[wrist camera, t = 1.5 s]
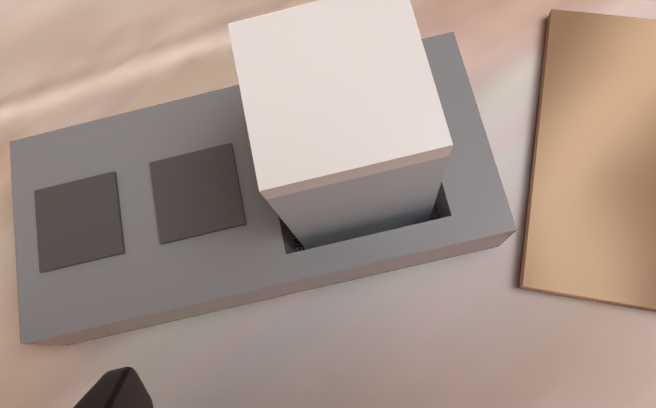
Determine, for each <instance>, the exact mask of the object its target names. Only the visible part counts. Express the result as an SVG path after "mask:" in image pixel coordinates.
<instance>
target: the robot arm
mask: <svg viewBox="0 0 656 408" xmlns="http://www.w3.org/2000/svg"><path fill="white" fill-rule="evenodd" d="M73 408H153V403H152V400H151V397H150V395H149V394H148V392H147V390H146V388H145V387H144V385H143V383H142V381H141V380H140V378H139V376H138V374H137V373H136V371H135V370H134V369H133V368H131V367H124V368H120V369H116V370H111V371H109V372H107V373H105V374H104V375H103V376H102V377H101V378H100V379H99V381H98V382H97V383H96V384H95V385H94V386H93V387H92V388H91V389H90V390H89V391H88V392H87V393H86V395H85V396H84V397H83V398H82V399H81V400H80V401H79V402H78V403H77V404H76V405H75V406H74V407H73Z"/></svg>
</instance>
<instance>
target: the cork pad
mask: <svg viewBox="0 0 656 408" xmlns="http://www.w3.org/2000/svg"><path fill="white" fill-rule="evenodd" d="M519 288H523V289H528V290H534V291H540V292H546V293H552V294H557V295H563V296H569V297H575V298H580V299H586V300H592V301H598V302H604V303H609V304H615V305H621V306H627V307H633V308H638V309H644V310H650V311H656V20H655V19H645V18H635V17H625V16H614V15H604V14H594V13H584V12H574V11H564V10H554V9H552V10H551V12H550V14H549V16H548V19H547V29H546V38H545V48H544V57H543V67H542V76H541V85H540V95H539V104H538V114H537V123H536V133H535V142H534V151H533V161H532V170H531V180H530V189H529V199H528V208H527V218H526V227H525V236H524V246H523V255H522V265H521V274H520V284H519Z"/></svg>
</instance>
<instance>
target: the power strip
mask: <svg viewBox="0 0 656 408" xmlns="http://www.w3.org/2000/svg"><path fill="white" fill-rule="evenodd" d="M422 43H423V46H424V49H425V53H426V56H427V59H428V63H429V66H430V69H431V73H432V76H433V79H434V83H435V86H436V89H437V93H438V96H439V99H440V103H441V106H442V109H443V113H444V116H445V119H446V123H447V126H448V129H449V133H450V136H451V139H452V143H453V147H452V150H451V153H450V156H449V159H448V163H447V166H446V169H445V172H444V175H443V178H442V181H441V185H440V188H439V191H438V194H437V197H436V200H435V206H436V209H437V213H438V216H439V219H435V220H431V221H427V222H422V223H418V224H414V225H410V226H405V227H401V228H397V229H392V230H388V231H384V232H380V233H375V234H371V235H367V236H362V237H358V238H354V239H350V240H345V241H341V242H337V243H332V244H328V245H324V246H319V247H315V248H311V249H307V250H302V251H298V252H296V250H295V245H294V240H293V235H292V232H291V230H290V229H289V228H288V227H287V225H286V224H285V223H284V222H283V220H282V219H281V218H280V217H279V215H278V214H277V213H276V212H275V210H274V209H273V208H272V207H271V205H270V204H269V203H268V202H267V200H266V199H265V198H264V197H263V195H262V194H261V193H260V192H259V188H258V183H257V177H256V172H255V167H254V161H253V156H252V151H251V145H250V140H249V135H248V129H247V124H246V119H245V114H244V108H243V103H242V98H241V92H240V87H239V85H236V86H232V87H228V88H224V89H220V90H216V91H212V92H208V93H204V94H200V95H196V96H192V97H188V98H184V99H180V100H176V101H172V102H168V103H164V104H159V105H155V106H151V107H147V108H143V109H139V110H135V111H131V112H127V113H123V114H119V115H115V116H111V117H107V118H103V119H99V120H95V121H91V122H87V123H83V124H79V125H75V126H71V127H67V128H63V129H59V130H55V131H51V132H47V133H43V134H39V135H35V136H30V137H26V138H22V139H18V140H14V141H10V159H11V177H12V195H13V213H14V231H15V249H16V267H17V285H18V303H19V321H20V339H21V344H36V345H70V344H74V343H79V342H83V341H88V340H92V339H96V338H101V337H105V336H109V335H114V334H118V333H122V332H127V331H131V330H135V329H140V328H144V327H148V326H153V325H157V324H161V323H166V322H170V321H175V320H179V319H183V318H188V317H192V316H196V315H201V314H205V313H209V312H214V311H218V310H222V309H227V308H231V307H235V306H240V305H244V304H249V303H253V302H257V301H262V300H266V299H270V298H275V297H279V296H283V295H288V294H292V293H296V292H301V291H305V290H309V289H314V288H318V287H323V286H327V285H331V284H336V283H340V282H344V281H349V280H353V279H357V278H362V277H366V276H370V275H375V274H379V273H383V272H388V271H392V270H397V269H401V268H405V267H410V266H414V265H418V264H423V263H427V262H431V261H436V260H440V259H444V258H449V257H453V256H457V255H462V254H466V253H471V252H475V251H479V250H484V249H488V248H492V247H497V246H500V245H501V244H502V243H503V242H504V241H505V240H506V239H507V238H508V237H509V236H511V235H512V234H513V233H514V232H515V231H516V230H517V229H516V226H515V223H514V220H513V217H512V214H511V211H510V207H509V204H508V201H507V198H506V195H505V192H504V189H503V186H502V182H501V179H500V176H499V173H498V170H497V167H496V164H495V161H494V157H493V154H492V151H491V148H490V145H489V142H488V139H487V135H486V132H485V129H484V126H483V123H482V120H481V117H480V114H479V110H478V107H477V104H476V101H475V98H474V95H473V92H472V89H471V85H470V82H469V79H468V76H467V73H466V70H465V67H464V64H463V60H462V57H461V54H460V51H459V48H458V45H457V42H456V38H455V35H454V32H450V33H446V34H442V35H438V36H434V37H430V38H426V39H422Z"/></svg>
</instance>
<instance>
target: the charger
mask: <svg viewBox="0 0 656 408" xmlns="http://www.w3.org/2000/svg"><path fill="white" fill-rule="evenodd" d="M228 28H229V34H230V39H231V44H232V50H233V55H234V60H235V66H236V71H237V76H238V82H239V87H240V92H241V98H242V103H243V108H244V114H245V119H246V124H247V129H248V135H249V140H250V145H251V151H252V156H253V161H254V167H255V172H256V177H257V183H258V188H259V192H260V193H261V194H262V195H263V197H264V198H265V199H266V200H267V202H268V203H269V204H270V205H271V207H272V208H273V209H274V210H275V212H276V213H277V214H278V215H279V217H280V218H281V219H282V220H283V222H284V223H285V224H286V225H287V227H288V228H289V229H290V230H291V232H292V233H293V234H294V235H295V237H296V238H297V239H298V240H299V241H300V243H301V244H302V245H303V246H304V248H305V249H306V250H307V249H311V248H315V247H319V246H324V245H328V244H332V243H337V242H341V241H345V240H350V239H354V238H358V237H362V236H367V235H371V234H375V233H380V232H384V231H388V230H392V229H397V228H401V227H405V226H410V225H414V224H418V223H422V222H427V221H429V219H430V216H431V213H432V210H433V206H434V203H435V200H436V197H437V194H438V191H439V188H440V185H441V181H442V178H443V175H444V172H445V169H446V166H447V163H448V159H449V156H450V153H451V150H452V147H453V143H452V139H451V136H450V133H449V129H448V126H447V123H446V119H445V116H444V113H443V109H442V106H441V103H440V99H439V96H438V93H437V89H436V86H435V83H434V79H433V76H432V73H431V69H430V66H429V63H428V59H427V56H426V53H425V49H424V46H423V43H422V39H421V36H420V33H419V29H418V26H417V23H416V19H415V16H414V12H413V9H412V6H411V2H410V0H319V1H315V2H311V3H307V4H303V5H299V6H295V7H291V8H288V9H284V10H280V11H276V12H272V13H268V14H264V15H260V16H256V17H252V18H248V19H244V20H240V21H236V22H232V23H228Z"/></svg>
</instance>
